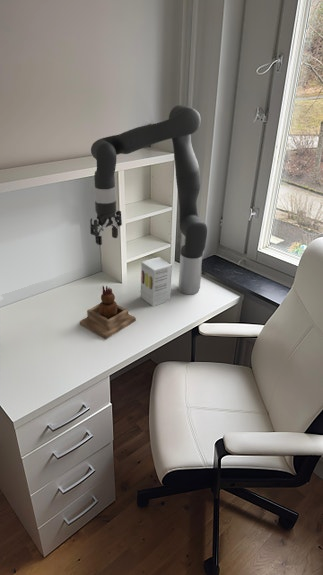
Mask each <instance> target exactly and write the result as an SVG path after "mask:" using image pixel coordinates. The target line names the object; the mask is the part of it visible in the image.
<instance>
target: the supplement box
mask: <svg viewBox="0 0 323 575" xmlns="http://www.w3.org/2000/svg"><path fill="white" fill-rule="evenodd" d="M140 267H141V269H140V270H141V271H140V298H142V299H143V300H144V301H146V302H147V303H148V304H149V305H150V306H152V307H154V306H157V305H160V304H164V303H166V302H168V301H171V291H172V289H171V288H172V276H173V275H172V273H173V264H171V263H169V262H168V261H166V260H165V259H163V258H162V257H160V256H158V257H157V256H156V257H155V258H154V257H153V258H150V259H146V260H143V261H141V266H140Z"/></svg>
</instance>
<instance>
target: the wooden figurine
mask: <svg viewBox="0 0 323 575" xmlns="http://www.w3.org/2000/svg"><path fill="white" fill-rule="evenodd" d="M104 286H105V285H102V294H101V296H100V298H101V299H100V300H101V302H100V303H99V312H100V315H101V316H103V317H105V318H107V319H110V318H112V317H114V316H115V315H116V314H117V305H118V303H117V302H116V301H115V299H116V296H115V294H114V293H113V289H112V288H110V287H108V285H106V286H105V287H104Z"/></svg>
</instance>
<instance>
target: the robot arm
mask: <svg viewBox="0 0 323 575" xmlns="http://www.w3.org/2000/svg"><path fill="white" fill-rule="evenodd" d="M201 122H202V121H201V115H200V112H198V111H197V110H196V109H195V108H193V107H191V106H187V105H183V104H182V105H181V104H180V105H179V104H178V105H175V106H174V107H173V108H171V110H170V111H169V113H168V119H165V120H163V121H160V122H157V123H152V124H145V125H141V126H138V127H134V128H132V129H129V130H127V131H124V132H121V133H119V134H114V135H108V136H106V137H102V138H99V139H97V140H95V141H94V142H93V143H92V145H91V148H90V154H91V156H92V157H93V158H94V159H95V160H96V170H95V172H94V209H95V213H96V217H95V218H92V217H91V218H90V220H89V221H90V222H89V223H90V226H89V228H90V232H89V233H90V235H92V236H95V244H96V245H98V246H101V245H103V240H102V238H103V237H102V233H103V232H104V231H105V230H106V228H108V227H110V226H111V237H112V238H113V239H117V238H118V237H119V227H121V226H122V225H123V222H122V221H123V220H122V211H121V210H119V209H117V192H116V185H115V184H116V182H115V179H116V178H115V173H116V172H115V171H116V168H117V167H116V166H117V155H129V154H132V153H134V152H137V151H139V150H142V149H143V148H144V149H145V148H147V147H150V146H152V145H154V144H158V143H160V142H163V141H167V140H171V141H172V145H173V146H172V147H173V158H174V160H173V161H174V166H175V179H176V180H175V181H176V189H177V196H178V205H179V229H180V231H181V233H182V235H183V236H184V237H185V244H184V245H182V246H181V247H180V257H179V274H178V283H177V284H178V286H177V288H178V292H180V293H182V294H185V295H195V294H197V293H198V292H199V291H200V288H201V280H202V270H203V269H202V265H203V264H202V263H203V253H204V251H205V249H206V244H207V237H208V226H207V224H206V222H204V221H203V220H202V219H200V217H199V215H198V214H199V213H198V206H197V205H198V204H197V200H198V197H199V193H200V190H201V183H202V182H201V171H200V165H199V163H198V159H197V156H196V154H195V151H194V149H193V145H192V136H191V135H193V134H194V133H196V132H197V131H198V130H199V128H200V126H201Z"/></svg>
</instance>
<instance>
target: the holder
mask: <svg viewBox="0 0 323 575" xmlns="http://www.w3.org/2000/svg"><path fill="white" fill-rule="evenodd" d="M99 304H100V303H99ZM99 304H97V305H95V306H93V307H91V308H89V309H87V310H86V313H87V316H86V317H84V318H83V319H81V320H79V325H81V326H82V327H84V328H85V329H87V330H89V331H90V332H92V333H95V334H96V335H98V336H100V337H101V338H103V339H105V340H107V339H109V338H111V337H112V336H114V335H115V334H117V333H119V332H120V331H122V330H123V329H125V328H126V327H128V326H129V325H131V324H133V323H135V322H136V321H137V317H136V316H134V315H132V314H130V313H129V310H128V309H126V308H124V307H122V306H120V305H118V304H117V314H116V315H115V316H114V317H112V318H110V319H107V318H105V317H103V316H101V315H100V312H99Z"/></svg>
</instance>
